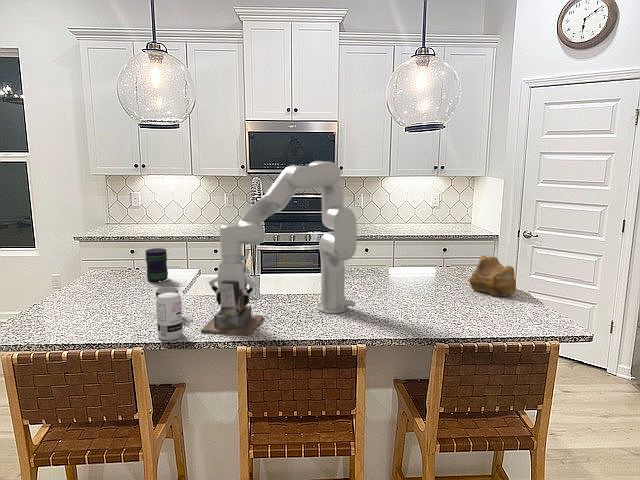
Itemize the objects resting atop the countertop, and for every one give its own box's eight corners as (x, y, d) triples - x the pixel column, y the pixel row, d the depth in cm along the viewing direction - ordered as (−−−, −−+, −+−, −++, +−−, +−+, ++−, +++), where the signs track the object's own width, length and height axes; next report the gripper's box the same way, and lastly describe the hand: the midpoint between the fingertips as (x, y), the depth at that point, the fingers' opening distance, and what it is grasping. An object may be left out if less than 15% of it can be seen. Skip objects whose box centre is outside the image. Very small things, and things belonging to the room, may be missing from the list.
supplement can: (161, 332, 173) (158, 291, 170) (185, 331, 173) (183, 291, 171) (155, 341, 165) (153, 298, 162) (180, 340, 166) (178, 298, 163)
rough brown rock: (458, 287, 234) (458, 257, 231) (490, 282, 237) (490, 252, 234) (485, 303, 212) (485, 270, 208) (519, 298, 215) (520, 265, 212)
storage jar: (153, 276, 246) (151, 247, 243) (171, 277, 245) (170, 248, 242) (143, 282, 236) (141, 252, 233) (162, 283, 235) (160, 252, 232)
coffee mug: (155, 312, 194) (154, 288, 192) (178, 309, 197) (177, 285, 195) (158, 322, 183) (157, 296, 181) (182, 319, 186) (181, 293, 185)
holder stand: (263, 318, 188) (263, 304, 187) (250, 335, 170) (250, 320, 169) (218, 315, 190) (217, 302, 189) (201, 332, 173) (200, 317, 172)
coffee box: (237, 327, 175) (236, 283, 172) (220, 326, 176) (219, 282, 173) (246, 318, 184) (244, 277, 181) (229, 317, 185) (228, 276, 182)
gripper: (257, 257, 178) (258, 302, 181) (212, 255, 180) (213, 300, 184) (252, 262, 171) (253, 308, 174) (204, 260, 173) (206, 306, 176)
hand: (232, 304), depth 179 cm, fingers open, 9 cm apart
